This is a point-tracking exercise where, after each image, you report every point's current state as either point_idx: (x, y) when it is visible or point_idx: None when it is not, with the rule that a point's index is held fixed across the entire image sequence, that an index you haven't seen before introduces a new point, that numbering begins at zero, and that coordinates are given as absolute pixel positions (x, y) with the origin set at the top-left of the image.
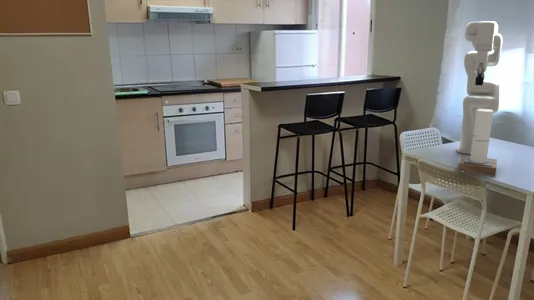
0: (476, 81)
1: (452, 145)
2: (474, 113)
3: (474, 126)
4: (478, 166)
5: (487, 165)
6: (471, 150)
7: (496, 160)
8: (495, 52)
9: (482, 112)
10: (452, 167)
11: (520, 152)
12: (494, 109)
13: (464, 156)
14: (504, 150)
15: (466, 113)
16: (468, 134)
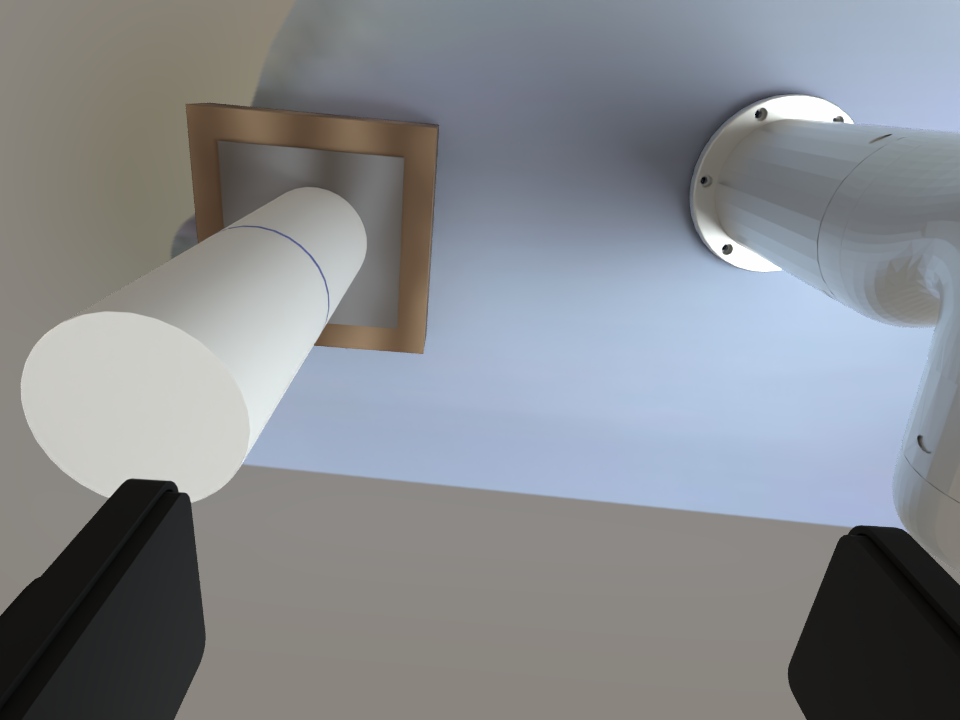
0: (53, 596)
1: (954, 61)
2: (922, 275)
3: (203, 247)
4: (198, 236)
5: None
6: (280, 200)
7: (392, 349)
8: None
9: (32, 377)
10: (295, 64)
11: (803, 482)
12: (895, 500)
13: (413, 149)
14: (839, 408)
15: (948, 177)
16: (783, 190)
